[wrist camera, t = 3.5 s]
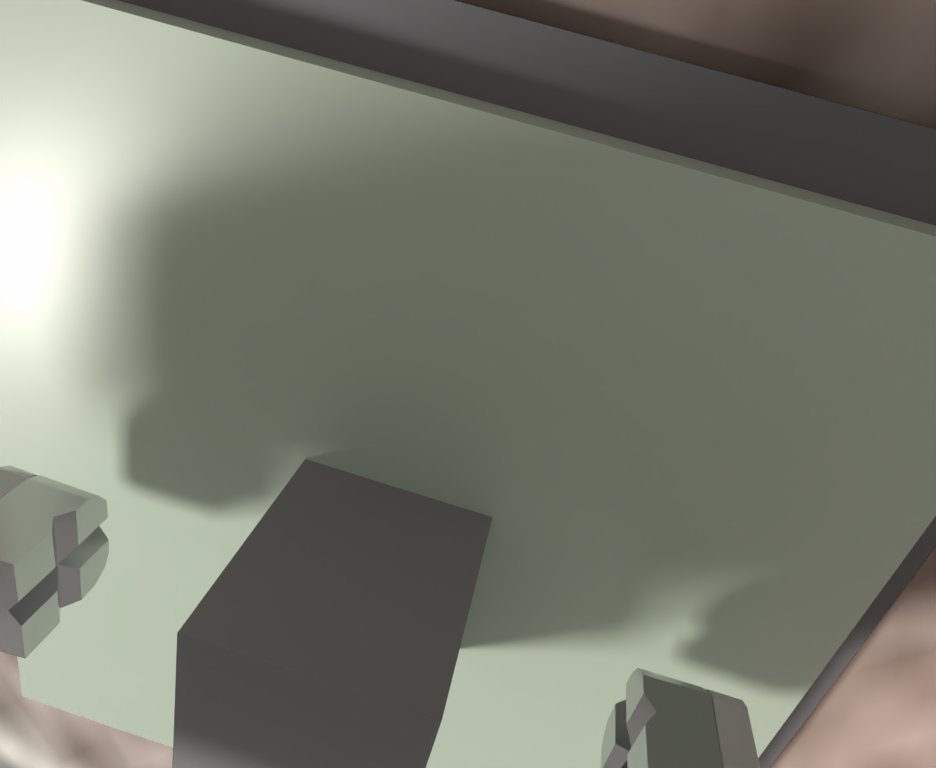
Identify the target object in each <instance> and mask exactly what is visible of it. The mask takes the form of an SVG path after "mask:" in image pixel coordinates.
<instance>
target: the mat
mask: <svg viewBox="0 0 936 768" xmlns="http://www.w3.org/2000/svg"><path fill="white" fill-rule="evenodd" d="M119 1H123V2H126V3H130V4H133V5H137V6H141V7H144V8H148V9H152V10H155V11H159V12H162V13H166V14H170V15H173V16H177V17H181V18H184V19H188V20H191V21H195V22H199V23H202V24H206V25H210V26H213V27H217V28H220V29H224V30H228V31H231V32H235V33H239V34H242V35H246V36H249V37H253V38H257V39H260V40H264V41H268V42H271V43H275V44H279V45H282V46H286V47H289V48H293V49H297V50H300V51H304V52H308V53H311V54H315V55H318V56H322V57H326V58H329V59H333V60H337V61H340V62H344V63H347V64H351V65H355V66H358V67H362V68H366V69H369V70H373V71H376V72H380V73H384V74H387V75H391V76H395V77H398V78H402V79H405V80H409V81H413V82H416V83H420V84H424V85H427V86H431V87H434V88H438V89H442V90H445V91H449V92H453V93H456V94H460V95H463V96H467V97H471V98H474V99H478V100H482V101H485V102H489V103H492V104H496V105H500V106H503V107H507V108H511V109H514V110H518V111H521V112H525V113H529V114H532V115H536V116H540V117H543V118H547V119H550V120H554V121H558V122H561V123H565V124H569V125H572V126H576V127H580V128H583V129H587V130H590V131H594V132H598V133H601V134H605V135H609V136H612V137H616V138H619V139H623V140H627V141H630V142H634V143H638V144H641V145H645V146H648V147H652V148H656V149H659V150H663V151H667V152H670V153H674V154H677V155H681V156H685V157H688V158H692V159H696V160H699V161H703V162H706V163H710V164H714V165H717V166H721V167H725V168H728V169H732V170H735V171H739V172H743V173H746V174H750V175H754V176H757V177H761V178H764V179H768V180H772V181H775V182H779V183H783V184H786V185H790V186H793V187H797V188H801V189H804V190H808V191H812V192H815V193H819V194H822V195H826V196H830V197H833V198H837V199H841V200H844V201H848V202H851V203H855V204H859V205H862V206H866V207H870V208H873V209H877V210H880V211H884V212H888V213H891V214H895V215H899V216H902V217H906V218H910V219H913V220H917V221H920V222H924V223H928V224H931V225H935V226H936V129H933V128H929V127H925V126H922V125H918V124H914V123H910V122H907V121H903V120H899V119H895V118H892V117H888V116H884V115H880V114H877V113H873V112H869V111H866V110H862V109H858V108H854V107H851V106H847V105H843V104H839V103H836V102H832V101H828V100H824V99H821V98H817V97H813V96H810V95H806V94H802V93H798V92H795V91H791V90H787V89H783V88H780V87H776V86H772V85H768V84H765V83H761V82H757V81H753V80H750V79H746V78H742V77H739V76H735V75H731V74H727V73H724V72H720V71H716V70H712V69H709V68H705V67H701V66H697V65H694V64H690V63H686V62H682V61H679V60H675V59H671V58H668V57H664V56H660V55H656V54H653V53H649V52H645V51H641V50H638V49H634V48H630V47H626V46H623V45H619V44H615V43H612V42H608V41H604V40H600V39H597V38H593V37H589V36H585V35H582V34H578V33H574V32H570V31H567V30H563V29H559V28H555V27H552V26H548V25H544V24H541V23H537V22H533V21H529V20H526V19H522V18H518V17H514V16H511V15H507V14H503V13H499V12H496V11H492V10H488V9H484V8H481V7H477V6H473V5H470V4H466V3H462V2H458V1H455V0H119ZM935 548H936V516H935V517H934V519H933V520H932V522H931V523H930V524H929V526H928V527H927V528H926V530H925V531H924V533H923V534H922V535H921V537H920V538H919V539H918V541H917V542H916V543H915V545H914V546H913V548H912V549H911V550H910V552H909V553H908V554H907V556H906V557H905V558H904V560H903V561H902V563H901V564H900V565H899V567H898V568H897V569H896V571H895V572H894V574H893V575H892V576H891V578H890V579H889V580H888V582H887V583H886V584H885V586H884V587H883V589H882V590H881V591H880V593H879V594H878V595H877V597H876V598H875V599H874V601H873V602H872V604H871V605H870V606H869V608H868V609H867V610H866V612H865V613H864V615H863V616H862V617H861V619H860V620H859V621H858V623H857V624H856V625H855V627H854V628H853V630H852V631H851V632H850V634H849V635H848V636H847V638H846V639H845V640H844V642H843V643H842V645H841V646H840V647H839V649H838V650H837V651H836V653H835V654H834V656H833V657H832V658H831V660H830V661H829V662H828V664H827V665H826V666H825V668H824V669H823V671H822V672H821V673H820V675H819V676H818V677H817V679H816V680H815V681H814V683H813V684H812V686H811V687H810V688H809V690H808V691H807V692H806V694H805V695H804V696H803V698H802V699H801V701H800V702H799V703H798V705H797V706H796V707H795V709H794V710H793V712H792V713H791V714H790V716H789V717H788V718H787V720H786V721H785V722H784V724H783V725H782V727H781V728H780V729H779V731H778V732H777V733H776V735H775V736H774V737H773V739H772V740H771V742H770V743H769V744H768V746H767V747H766V748H765V750H764V751H763V753H762V754H761V755H760V757H759V758H758V759H759V764H760V768H770V766H771V765H772V764H773V762H774V761H775V760H776V758H777V757H778V756H779V755H780V753H781V752H782V751H783V749H784V748H785V747H786V745H787V744H788V743H789V741H790V740H791V739H792V737H793V736H794V735H795V733H796V732H797V731H798V729H799V728H800V727H801V725H802V724H803V723H804V721H805V720H806V719H807V717H808V716H809V715H810V713H811V712H812V711H813V709H814V708H815V707H816V705H817V704H818V703H819V701H820V700H821V699H822V697H823V696H824V695H825V693H826V692H827V691H828V689H829V688H830V687H831V686H832V684H833V683H834V682H835V680H836V679H837V678H838V676H839V675H840V674H841V672H842V671H843V670H844V668H845V667H846V666H847V664H848V663H849V662H850V660H851V659H852V658H853V656H854V655H855V654H856V652H857V651H858V650H859V648H860V647H861V646H862V644H863V643H864V642H865V640H866V639H867V638H868V636H869V635H870V634H871V632H872V631H873V630H874V628H875V627H876V626H877V624H878V623H879V622H880V621H881V619H882V618H883V617H884V615H885V614H886V613H887V611H888V610H889V609H890V607H891V606H892V605H893V603H894V602H895V601H896V599H897V598H898V597H899V595H900V594H901V593H902V591H903V590H904V589H905V587H906V586H907V585H908V583H909V582H910V581H911V579H912V578H913V577H914V575H915V574H916V573H917V571H918V570H919V569H920V567H921V566H922V565H923V563H924V562H925V561H926V559H927V558H928V557H929V555H930V554H931V553H932V552H933V550H934V549H935ZM17 661H18V660H17ZM18 669H19V668H18Z"/></svg>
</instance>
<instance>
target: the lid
mask: <svg viewBox="0 0 936 768" xmlns="http://www.w3.org/2000/svg"><path fill="white" fill-rule="evenodd" d="M8 465H10V466H13V467H16V468H19V469H22V470H25V471H28V472H31V473H33V474H36V475H41V476H44V477H46V478H49V479H52V480H55V481H58V482H61V483H64V484H67V485H69V486H72V487H75V488H78V489H81V490H84V491H87V492H89V493H92V494H95V495H98V496H100V497H102V498H104V499H105V500H107V512H108V518H107V519H106V520H105V521H104V522H102V523H101V524H100V525H99V526H100V528H101V529H102V531H103V532H104V534H105V535H106V536H107V538H108V539H109V554H108V558H107V562H106V566H105V568H104V570H103V572H102V573H101V575H100V577H99V579H98V581H97V582H96V584H95V586H94V587H93V588H92V589H91V590H90V591H89V592H88V593H87V594H86V596H85V597H84V598H83V599H82V600H80V601H78V602H75V603H72V604H70V605H67V606H65V607H62V608H61V612H60V623H59V624H58V625H57V626H56V627H55V628H54V629H53V630H52V631H51V633H50V634H49V635H48V636H47V637H46V638H45V639H44V640H43V641H42V642H41V643H40V644H39V645H38V646H37V647H36V648H35V649H34V650H33V651H32V652H31V653H30V654H29V655H28V657H27V658H26V659H24V658H21V657H18V656H17V660H18V668H19V675H20V683H21V690H22V696H23V697H25V698H28V699H31V700H34V701H37V702H40V703H43V704H46V705H49V706H52V707H55V708H58V709H61V710H64V711H66V712H69V713H72V714H75V715H78V716H81V717H84V718H87V719H90V720H93V721H96V722H99V723H102V724H105V725H108V726H110V727H113V728H116V729H119V730H122V731H125V732H128V733H131V734H134V735H137V736H140V737H143V738H146V739H149V740H151V741H154V742H157V743H160V744H163V745H166V746H169V747H172V748H173V765H172V768H601V751H602V742H603V736H604V732H605V729H606V725H607V721H608V718H609V716H610V714H611V712H612V710H613V708H614V706H615V704H616V703H618V702H621V701H623V700H626V683H627V681H628V679H629V677H630V676H631V674H632V672H633V671H634V670H636V669H637V668H641V669H644V670H647V671H651V672H654V673H657V674H660V675H664V676H667V677H670V678H673V679H677V680H680V681H683V682H686V683H690V684H693V685H696V686H699V687H703V688H704V689H705V690H706V689H708V690H712V691H715V692H718V693H721V694H724V695H728V696H731V697H734V698H737V699H740V700H743V702H744V703H745V705H746V706H747V708H748V713H749V717H750V722H751V727H752V731H753V736H754V741H755V745H756V750H757V755H758V758H759V757H760V755H761V754H762V753H763V751H764V750H765V748H766V747H767V746H768V744H769V743H770V742H771V740H772V739H773V737H774V736H775V735H776V733H777V732H778V731H779V729H780V728H781V727H782V725H783V724H784V722H785V721H786V720H787V718H788V717H789V716H790V714H791V713H792V712H793V710H794V709H795V707H796V706H797V705H798V703H799V702H800V701H801V699H802V698H803V696H804V695H805V694H806V692H807V691H808V690H809V688H810V687H811V686H812V684H813V683H814V681H815V680H816V679H817V677H818V676H819V675H820V673H821V672H822V671H823V669H824V668H825V666H826V665H827V664H828V662H829V661H830V660H831V658H832V657H833V656H834V654H835V653H836V651H837V650H838V649H839V647H840V646H841V645H842V643H843V642H844V640H845V639H846V638H847V636H848V635H849V634H850V632H851V631H852V630H853V628H854V627H855V625H856V624H857V623H858V621H859V620H860V619H861V617H862V616H863V615H864V613H865V612H866V610H867V609H868V608H869V606H870V605H871V604H872V602H873V601H874V599H875V598H876V597H877V595H878V594H879V593H880V591H881V590H882V589H883V587H884V586H885V584H886V583H887V582H888V580H889V579H890V578H891V576H892V575H893V574H894V572H895V571H896V569H897V568H898V567H899V565H900V564H901V563H902V561H903V560H904V558H905V557H906V556H907V554H908V553H909V552H910V550H911V549H912V548H913V546H914V545H915V543H916V542H917V541H918V539H919V538H920V537H921V535H922V534H923V533H924V531H925V530H926V528H927V527H928V526H929V524H930V523H931V522H932V520H933V519H934V517H935V516H936V226H935V225H931V224H928V223H924V222H920V221H917V220H913V219H910V218H906V217H902V216H899V215H895V214H891V213H888V212H884V211H880V210H877V209H873V208H870V207H866V206H862V205H859V204H855V203H851V202H848V201H844V200H841V199H837V198H833V197H830V196H826V195H822V194H819V193H815V192H812V191H808V190H804V189H801V188H797V187H793V186H790V185H786V184H783V183H779V182H775V181H772V180H768V179H764V178H761V177H757V176H754V175H750V174H746V173H743V172H739V171H735V170H732V169H728V168H725V167H721V166H717V165H714V164H710V163H706V162H703V161H699V160H696V159H692V158H688V157H685V156H681V155H677V154H674V153H670V152H667V151H663V150H659V149H656V148H652V147H648V146H645V145H641V144H638V143H634V142H630V141H627V140H623V139H619V138H616V137H612V136H609V135H605V134H601V133H598V132H594V131H590V130H587V129H583V128H580V127H576V126H572V125H569V124H565V123H561V122H558V121H554V120H550V119H547V118H543V117H540V116H536V115H532V114H529V113H525V112H521V111H518V110H514V109H511V108H507V107H503V106H500V105H496V104H492V103H489V102H485V101H482V100H478V99H474V98H471V97H467V96H463V95H460V94H456V93H453V92H449V91H445V90H442V89H438V88H434V87H431V86H427V85H424V84H420V83H416V82H413V81H409V80H405V79H402V78H398V77H395V76H391V75H387V74H384V73H380V72H376V71H373V70H369V69H366V68H362V67H358V66H355V65H351V64H347V63H344V62H340V61H337V60H333V59H329V58H326V57H322V56H318V55H315V54H311V53H308V52H304V51H300V50H297V49H293V48H289V47H286V46H282V45H279V44H275V43H271V42H268V41H264V40H260V39H257V38H253V37H249V36H246V35H242V34H239V33H235V32H231V31H228V30H224V29H220V28H217V27H213V26H210V25H206V24H202V23H199V22H195V21H191V20H188V19H184V18H181V17H177V16H173V15H170V14H166V13H162V12H159V11H155V10H152V9H148V8H144V7H141V6H137V5H133V4H130V3H126V2H123V1H119V0H0V467H3V466H8Z"/></svg>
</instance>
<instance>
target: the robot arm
mask: <svg viewBox="0 0 936 768" xmlns="http://www.w3.org/2000/svg"><path fill="white" fill-rule="evenodd" d="M107 518H108V512H107V500H105V499H104V498H102V497H100V496H98V495H95V494H92V493H89V492H87V491H84V490H81V489H78V488H75V487H72V486H69V485H67V484H64V483H61V482H58V481H55V480H52V479H49V478H46V477H44V476H41V475H36V474H33V473H31V472H28V471H25V470H22V469H19V468H16V467H13V466H10V465H8V466H3V467H0V651H1V652H5V653H8V654H11V655H15V656H18V657H21V658H24V659H26V658H27V657H28V655H29V654H30V653H31V652H32V651H33V650H34V649H35V648H36V647H37V646H38V645H39V644H40V643H41V642H42V641H43V640H44V639H45V638H46V637H47V636H48V635H49V634H50V633H51V631H52V630H53V629H54V628H55V627H56V626H57V625H58V624H59V623H60V612H61V608H62V607H65V606H67V605H70V604H72V603H75V602H78V601H80V600H82V599H83V598H84V597H85V596H86V594H87V593H88V592H89V591H90V590H91V589H92V588H93V587H94V586H95V584H96V582H97V581H98V579H99V577H100V575H101V573H102V572H103V570H104V568H105V566H106V562H107V558H108V554H109V539H108V538H107V536H106V535H105V534H104V532H103V531H102V529H101V528H100V526H99V525H100V524H101V523H102V522H104V521H105V520H106V519H107ZM601 768H760V764H759V759H758V755H757V750H756V745H755V741H754V736H753V731H752V727H751V722H750V717H749V713H748V708H747V706H746V705H745V703H744V702H743V700H740V699H737V698H734V697H731V696H728V695H724V694H721V693H718V692H715V691H712V690H708V689H706V690H705V689H704V688H703V687H699V686H696V685H693V684H690V683H686V682H683V681H680V680H677V679H673V678H670V677H667V676H664V675H660V674H657V673H654V672H651V671H647V670H644V669H641V668H637V669H636V670H634V671H633V672H632V674H631V676H630V677H629V679H628V681H627V683H626V700H623V701H621V702H618V703H616V704H615V706H614V708H613V710H612V712H611V714H610V716H609V718H608V721H607V725H606V729H605V732H604V736H603V742H602V751H601Z"/></svg>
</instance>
